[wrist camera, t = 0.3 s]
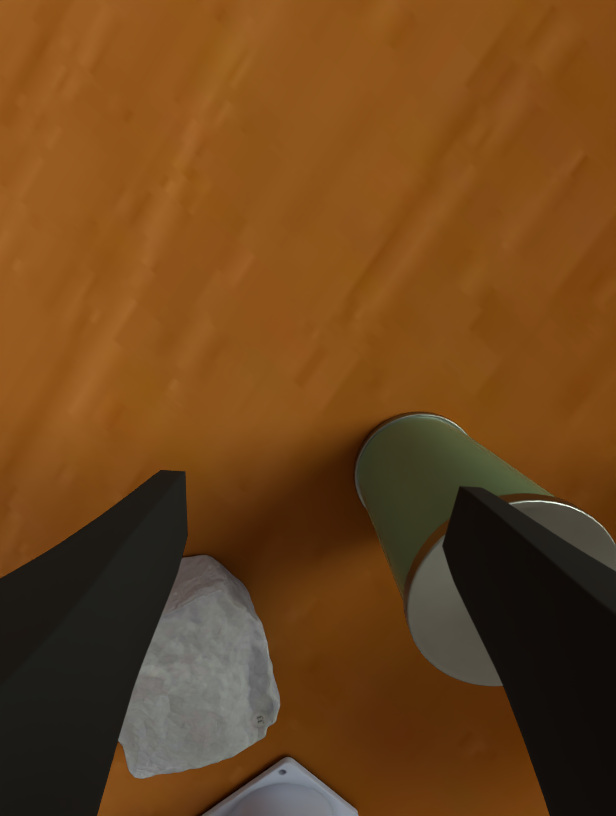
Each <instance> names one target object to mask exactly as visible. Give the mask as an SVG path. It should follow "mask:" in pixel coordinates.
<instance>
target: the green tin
mask: <svg viewBox="0 0 616 816" xmlns="http://www.w3.org/2000/svg"><path fill="white" fill-rule="evenodd" d="M354 483H355V488H356V491H357V493H358V496H359V498H360V500H361V502H362V504H363V506H364V507H365V508H366V509H367V511H368V514H369V516H370V519H371V521H372V524H373V526H374V529H375V532H376V534H377V537H378V539H379V542H380V544H381V547H382V549H383V552H384V554H385V557H386V559H387V562H388V564H389V567H390V569H391V572H392V574H393V577H394V579H395V582H396V584H397V587H398V589H399V592H400V594H401V597H402V599H403V604H404V613H405V618H406V622H407V625H408V627H409V630H410V632H411V635H412V637H413V640H414V642H415V644H416V645H417V647H418V649H419V650H420V652H421V653H422V654H423V655H424V657H425V658H426V659H427V660H428V661H429V662H430V663H431V664H433V665H434V666H435V667H436V668H437V669H439V670H440V671H442V672H443V673H445V674H447V675H449V676H451V677H453V678H455V679H457V680H461V681H464V682H467V683H471V684H476V685H483V686H503V685H502V682H501V680H500V678H499V676H498V673H497V671H496V669H495V667H494V665H493V663H492V661H491V659H490V657H489V655H488V652H487V650H486V648H485V646H484V644H483V642H482V640H481V638H480V636H479V634H478V632H477V630H476V628H475V626H474V624H473V622H472V620H471V617H470V615H469V613H468V611H467V609H466V607H465V605H464V603H463V601H462V599H461V596H460V594H459V592H458V590H457V588H456V586H455V584H454V581H453V578H452V575H451V573H450V570H449V567H448V564H447V560H446V557H445V554H444V551H443V547H442V544H443V541H444V538H445V534H446V531H447V527H448V524H449V520H450V517H451V513H452V510H453V506H454V503H455V500H456V496H457V493H458V489H459V486H468V487H482V488H484V489H486V490H487V491H489V492H491V493H493V494H494V495H496V496H498V497H499V498H501V499H502V500H504V501H506V502H507V503H509V504H510V505H512V506H513V507H515V508H516V509H518V510H519V511H521V512H522V513H524V514H525V515H527V516H529V517H530V518H532V519H533V520H535V521H536V522H538V523H539V524H541V525H542V526H544V527H545V528H547V529H548V530H550V531H551V532H553V533H554V534H556V535H558V536H559V537H561V538H562V539H564V540H565V541H567V542H568V543H570V544H572V545H573V546H575V547H576V548H578V549H580V550H581V551H583V552H585V553H586V554H588V555H590V556H591V557H593V558H595V559H596V560H598V561H600V562H601V563H603V564H605V565H606V566H608V567H610V568H611V569H613V570H615V571H616V544H615V543H614V541H613V539H612V538H611V536H610V534H609V533H608V532H607V530H606V529H605V528H604V527H603V526H602V525H601V524H600V523H599V522H598V521H597V520H596V519H594V518H593V517H592V516H591V515H589V514H588V513H586V512H585V511H583V510H582V509H580V508H578V507H577V506H575V505H573V504H572V503H569V502H567V501H564V500H562V499H560V498H556V497H555V496H553V495H552V494H550V493H549V492H547V491H546V490H545V489H543V488H542V487H540V486H539V485H538V484H536V483H535V482H533V481H532V480H530V479H529V478H528V477H526V476H525V475H523V474H522V473H520V472H519V471H518V470H516V469H515V468H513V467H512V466H510V465H509V464H508V463H506V462H505V461H503V460H502V459H500V458H499V457H498V456H496V455H495V454H493V453H492V452H490V451H489V450H488V449H486V448H485V447H483V446H482V445H480V444H479V443H478V442H476V441H475V440H473V439H472V438H471V437H469V436H468V435H467V434H466V433H465V432H464V430H463V429H462V428H460V427H459V426H458V425H457V424H455V423H454V422H452V421H451V420H449V419H447V418H445V417H443V416H441V415H438V414H434V413H429V412H410V413H405V414H401V415H398V416H395V417H393V418H391V419H389V420H387V421H385V422H383V423H382V424H381V425H379V426H378V427H377V428H375V429H374V430H373V431H372V432H371V433H370V434H369V435H368V437H367V438H366V439H365V441H364V442H363V444H362V445H361V447H360V449H359V451H358V454H357V457H356V460H355V465H354Z"/></svg>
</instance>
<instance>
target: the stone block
mask: <svg viewBox="0 0 616 816" xmlns="http://www.w3.org/2000/svg"><path fill="white" fill-rule="evenodd" d="M279 708H280V696H279V693H278V689H277V685H276V682H275V678H274V674H273V665H272V662H271V660H270V657H269V650H268V642H267V640H266V637H265V633H264V629H263V625H262V622H261V620H260V619H259V617H258V616H257V614H256V612H255V609H254V605H253V603H252V601H251V598H250V594H249V592H248V590H247V588H246V587H245V586H244V584H243V583H242V582H241V581H240V580H239V579H237V578H236V577H235V576H233V575H232V574H231V573H230V572H229V571H228V570H227V569H226V568H225V567H224V566H223V565H222V564H221V563H219V562H218V561H217V560H215V559H214V558H212V557H211V556H208V555H198V556H193V557H184V558H182V560H181V563H180V567H179V571H178V574H177V577H176V579H175V582H174V584H173V587H172V590H171V592H170V595H169V597H168V600H167V602H166V605H165V608H164V610H163V613H162V615H161V618H160V620H159V623H158V625H157V628H156V630H155V633H154V635H153V638H152V640H151V643H150V645H149V648H148V650H147V653H146V656H145V658H144V661H143V663H142V666H141V669H140V672H139V674H138V677H137V680H136V683H135V686H134V689H133V692H132V695H131V699H130V702H129V706H128V709H127V712H126V716H125V719H124V722H123V726H122V729H121V732H120V736H119V739H118V742H119V743H120V744H121V745H122V746H123V749H124V753H125V757H126V761H127V766H128V769H129V771H130V773H131V774H132V775H133V776H134V777H135V778H141V779H144V778H147V777H151V776H154V775H157V774H169V773H174V772H176V773H177V772H182V771H185V770H188V769H196V768H201V767H204V766H206V765H209V764H213V763H218V762H219V761H221V760H224V759H228V758H231V757H233V756H235V755H236V754H238V753H240V752H241V751H243V750H244V749H246V748H248V747H249V746H251V745H252V744H254V743H255V742H257V741H259V740H261V739H262V738H264V737H265V736H266V732H267V728H268V727H269V726H270V725H272V724H274V723H275V722H276V719H277V714H278V711H279Z"/></svg>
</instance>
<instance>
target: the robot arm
mask: <svg viewBox="0 0 616 816" xmlns="http://www.w3.org/2000/svg"><path fill="white" fill-rule="evenodd" d="M187 536H188V532H187V505H186V477H185V471H169V470H160V471H159V472H157V473H156V474H155V475H153V476H152V477H151V478H149V479H148V480H147V481H146V482H144V483H143V484H142V485H140V486H139V487H138V488H137V489H135V490H134V491H133V492H131V493H130V494H129V495H128V496H126V497H125V498H124V499H122V500H121V501H120V502H118V503H117V504H116V505H114V506H113V507H112V508H110V509H109V510H108V511H106V512H105V513H103V514H102V515H101V516H99V517H98V518H96V519H95V520H93V521H92V522H91V523H89V524H88V525H86V526H85V527H83V528H82V529H80V530H79V531H77V532H76V533H74V534H73V535H71V536H70V537H68V538H67V539H66V540H64V541H63V542H61V543H60V544H58V545H56V546H55V547H53V548H52V549H50V550H48V551H47V552H45V553H44V554H42V555H40V556H39V557H37V558H35V559H34V560H32V561H30V562H28V563H27V564H25V565H23V566H21V567H20V568H18V569H16V570H14V571H13V572H11V573H9V574H7V575H6V576H4V577H2V578H0V816H97V814H98V810H99V806H100V803H101V799H102V796H103V792H104V789H105V785H106V781H107V778H108V774H109V771H110V767H111V764H112V760H113V757H114V753H115V750H116V746H117V743H118V739H119V736H120V732H121V729H122V726H123V722H124V719H125V716H126V712H127V709H128V706H129V702H130V699H131V695H132V692H133V689H134V686H135V683H136V680H137V677H138V674H139V672H140V669H141V666H142V663H143V661H144V658H145V656H146V653H147V650H148V648H149V645H150V643H151V640H152V638H153V635H154V633H155V630H156V628H157V625H158V623H159V620H160V618H161V615H162V613H163V610H164V608H165V605H166V602H167V600H168V597H169V595H170V592H171V590H172V587H173V584H174V582H175V579H176V577H177V574H178V571H179V567H180V563H181V560H182V556H183V552H184V548H185V544H186V540H187ZM442 547H443V551H444V554H445V557H446V560H447V564H448V567H449V570H450V573H451V575H452V578H453V581H454V584H455V586H456V588H457V590H458V592H459V594H460V596H461V599H462V601H463V603H464V605H465V607H466V609H467V611H468V613H469V615H470V617H471V620H472V622H473V624H474V626H475V628H476V630H477V632H478V634H479V636H480V638H481V640H482V642H483V644H484V646H485V648H486V650H487V652H488V655H489V657H490V659H491V661H492V663H493V665H494V667H495V669H496V671H497V673H498V676H499V678H500V680H501V682H502V685H503V687H504V689H505V692H506V694H507V697H508V699H509V702H510V705H511V707H512V710H513V713H514V715H515V718H516V721H517V723H518V726H519V728H520V731H521V734H522V736H523V739H524V742H525V745H526V747H527V750H528V753H529V756H530V759H531V762H532V764H533V767H534V770H535V773H536V776H537V779H538V782H539V784H540V787H541V790H542V793H543V796H544V799H545V802H546V805H547V808H548V811H549V814H550V816H616V571H615V570H613V569H611V568H610V567H608V566H606V565H605V564H603V563H601V562H600V561H598V560H596V559H595V558H593V557H591V556H590V555H588V554H586V553H585V552H583V551H581V550H580V549H578V548H576V547H575V546H573V545H572V544H570V543H568V542H567V541H565V540H564V539H562V538H561V537H559V536H558V535H556V534H554V533H553V532H551V531H550V530H548V529H547V528H545V527H544V526H542V525H541V524H539V523H538V522H536V521H535V520H533V519H532V518H530V517H529V516H527V515H525V514H524V513H522V512H521V511H519V510H518V509H516V508H515V507H513V506H512V505H510V504H509V503H507V502H506V501H504V500H502V499H501V498H499V497H498V496H496V495H494V494H493V493H491V492H489V491H487V490H486V489H484V488H482V487H468V486H459V489H458V493H457V496H456V500H455V503H454V506H453V510H452V513H451V517H450V520H449V524H448V527H447V531H446V534H445V538H444V541H443V544H442ZM201 816H358V812H357V810H356V809H355V808H354V807H353V806H351V805H350V804H349V803H348V802H346V801H345V800H344V799H343V798H341V797H340V796H339V795H338V794H336V793H335V792H334V791H333V790H331V789H330V788H329V787H328V786H326V785H325V784H324V783H323V782H321V781H320V780H319V779H318V778H316V777H315V776H314V775H313V774H311V773H310V772H309V771H308V770H306V769H305V768H304V767H303V766H301V765H300V764H299V763H298V762H296V761H295V760H294V759H293V758H291V757H285V758H283V759H282V760H280V761H279V762H277V763H276V764H274V765H273V766H272V767H270V768H269V769H267V770H266V771H264V772H263V773H262V774H260V775H259V776H257V777H256V778H254V779H253V780H251V781H250V782H249V783H247V784H246V785H244V786H243V787H241V788H240V789H239V790H237V791H236V792H234V793H233V794H231V795H230V796H229V797H227V798H226V799H224V800H223V801H221V802H220V803H218V804H217V805H216V806H214V807H213V808H211V809H210V810H208V811H207V812H206V813H204V814H203V815H201Z"/></svg>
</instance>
